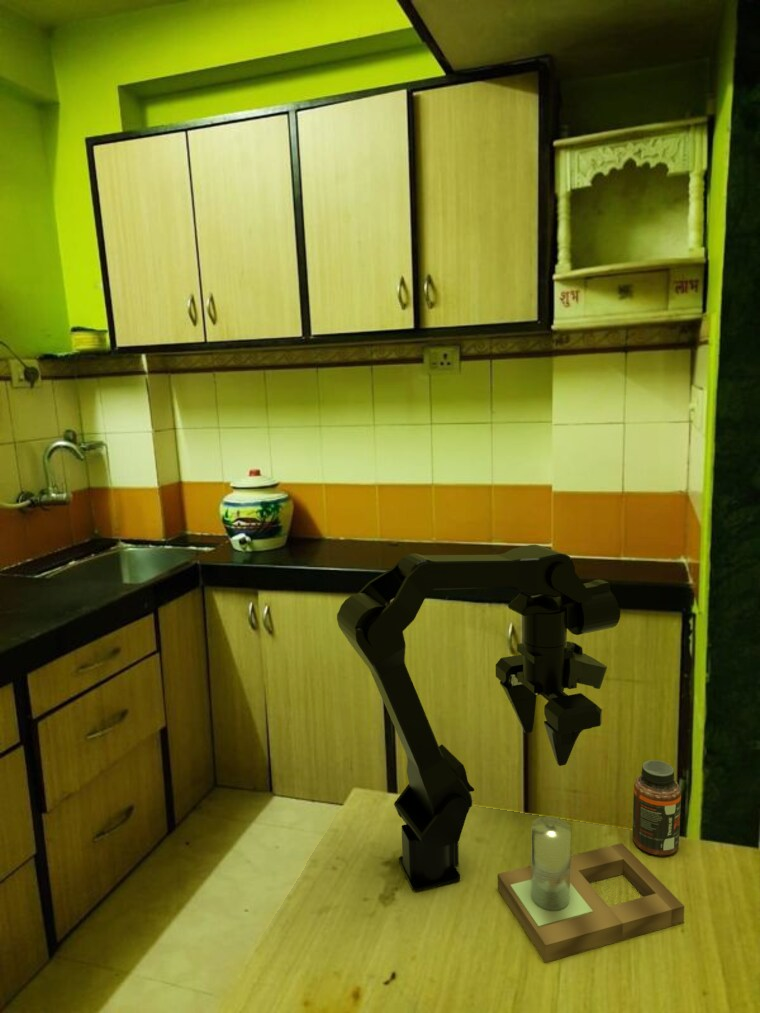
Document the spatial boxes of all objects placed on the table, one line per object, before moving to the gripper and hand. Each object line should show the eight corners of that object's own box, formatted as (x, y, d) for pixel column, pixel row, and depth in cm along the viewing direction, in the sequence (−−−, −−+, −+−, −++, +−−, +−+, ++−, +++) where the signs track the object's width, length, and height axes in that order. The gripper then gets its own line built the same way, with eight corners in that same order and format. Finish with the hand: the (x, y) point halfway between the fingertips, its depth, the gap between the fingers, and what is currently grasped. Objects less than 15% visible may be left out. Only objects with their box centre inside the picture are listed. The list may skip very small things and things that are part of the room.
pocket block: (545, 962, 78) (545, 943, 77) (497, 889, 89) (497, 872, 89) (683, 922, 83) (684, 904, 82) (621, 857, 94) (622, 841, 94)
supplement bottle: (683, 860, 93) (686, 781, 91) (635, 855, 94) (637, 778, 92) (674, 832, 99) (677, 757, 97) (629, 828, 100) (631, 754, 98)
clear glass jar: (541, 914, 81) (542, 842, 80) (524, 888, 86) (524, 820, 84) (576, 906, 83) (578, 835, 81) (557, 880, 87) (558, 813, 85)
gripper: (640, 656, 88) (637, 771, 91) (561, 611, 106) (561, 709, 108) (560, 670, 85) (559, 788, 88) (493, 621, 103) (494, 721, 105)
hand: (544, 747), depth 97 cm, fingers open, 9 cm apart
